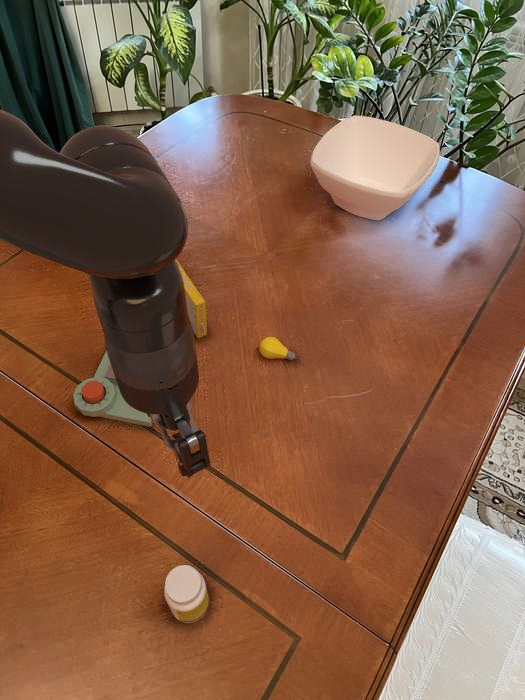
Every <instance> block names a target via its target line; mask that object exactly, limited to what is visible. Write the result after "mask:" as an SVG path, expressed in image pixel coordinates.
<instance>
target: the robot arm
mask: <svg viewBox="0 0 525 700" xmlns="http://www.w3.org/2000/svg"><path fill="white" fill-rule="evenodd" d="M188 234H189V223H188V216H187V213H186V210H185V207H184V205H183V202H182V200H181V199H180V197H179V195H178V194H177V192H176V191H175V188H174V187H173V185H172V184H171V182H170V180H169V179H168V177H167V176H166V175H165V173H164V171H163V170H162V168H161V166H160V165H159V163H158V161H157V160H156V158H155V157H154V155H153V153H152V151H150V149H149V148H148V147H147V146H146V145H145V144H144V142H142V141H141V140H140V139H139V138H137V136H135V135H134V134H132V133H130V132H129V131H126V130H124V129H121V128H119V127H116V126H112V125H94V126H90V127H86V128H84V129H82V130H80V131H77V133H75V134H74V135H73V136H71V137H70V138H69V139H68V140H67V142H65V144H64V145H63V146H62V148H61V149H60V152H58V151H56V150H54V148H51V147H50V146H48V145H47V144H46V143H44V142H43V141H42V140H41V139H40V137H38V136H37V134H36V133H35V132H34V131H33V130H32V129H31V128H30V127H29V125H27V123H25V122H24V121H23V120H22V119H20V118H19V117H17V116H16V115H14V114H12V113H10V112H8V111H5V110H3V109H2V108H1V109H0V241H2V242H4V243H7V244H9V245H11V246H13V247H15V248H17V249H20V250H22V251H25V252H27V253H30V254H32V255H36V256H39V257H41V258H44V259H46V260H49V261H51V262H54V263H56V264H59V265H62V266H64V267H67V268H70V269H73V270H75V271H78V272H81V273H83V274H87V275H88V276H87V277H88V279H89V283H90V288H91V292H92V293H91V294H92V297H93V303H94V306H95V311H96V312H97V316H98V319H99V322H100V326H101V328H102V331H103V337H104V338H103V339H104V347H105V349H106V350H107V354H108V357H109V360H110V363H111V366H112V369H113V372H114V375H115V378H116V381H117V384H118V387H119V390H120V393H121V395H122V397H123V399H124V400H125V401H126V403H127V404H128V405H130V406H131V407H132V408H134V409H136V410H138V411H140V412H143V413H147V415H148V417H151V420H152V421H153V423H154V425H155V426H156V427H157V429H158V431H159V435H160V437H161V438H162V441H163V444H164V445H165V446H166V447H167V448H168V449H170V450H172V452H173V454H174V456H175V461H176V463H177V467H178V471H179V473H180V475H181V477H184V478H185V477H187V478H191V477H194V475H196V474H197V473H199V472H200V471H203V470H204V469H207V468H210V467H211V460H210V454H209V448H208V443H207V442H208V441H207V438H206V437H207V435H206V433H205V432H204V431H203V430H202V429H201V428H200V429H199V428H198V426H197V424H196V420H195V419H194V416H193V414H192V404H191V402H190V401H191V399H192V398H193V396H194V395H195V393H196V391H197V389H198V386H199V382H200V374H199V367H198V358H197V349H196V343H195V334H194V332H193V328H192V325H191V322H190V319H189V316H188V309H187V302H186V294H185V288H184V282H183V279H182V275H181V273H180V270H179V267H178V265H177V263H176V261H175V260H177V259H178V258H179V256H180V255H181V253H182V252H183V250H184V248H185V246H186V243H187V241H188ZM106 350H105V351H106ZM167 430H169V431H174V432H176V431H178V432H176V433H174V434H172V435H169V433H168V431H167Z"/></svg>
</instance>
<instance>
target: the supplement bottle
mask: <svg viewBox="0 0 525 700" xmlns="http://www.w3.org/2000/svg"><path fill="white" fill-rule="evenodd" d="M164 582H165V583H164V587H163V590H164V591H163V594H164V599H165V602H166V603H167V606H168V608H169V610H170V611H171V614H172V615H173V616H174V618H175V619H176V620H178V621H179V622H182V623H184V624H191V623H192V624H193V623H195V622H198V621H200V620H201V619H202V618H203V617H204V616H205V614H206V613H207V612H208V609H209V605H210V596H209V592H208V587H207V583H206V580H205V579H204V577H203V575H202V573H200V572H199V571H198V570H197V569H196V568H195V567H193V566H192V565H189V564H181V565H177V566H175V567H174V568H172V569H171V570H170V571H169V572H168V574H167V576H166V578H165V581H164Z"/></svg>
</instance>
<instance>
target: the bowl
mask: <svg viewBox="0 0 525 700" xmlns="http://www.w3.org/2000/svg"><path fill="white" fill-rule="evenodd" d="M440 149H441V148H440V144H439V142H437V141H435V140H434V139H433V138H431V137H430V136H428V135H426V134H424V133H421V132H419V131H417V130H415V129H412V128H409V127H407V126H404V125H402V124H399V123H395V122H392V121H388V120H384V119H380V118H377V117H376V118H375V117H372V116H365V115H356V114H355V115H352V116H350V117H349V116H348V117H346V118H345V119H343V120H341V121H340V122H338V123H337V124H335V125H333V127H332V128H330V129H329V130H328V131H327V132H326V133H325V134H324V135H323V136H322V137H321V139H320V140H319V141H318V143H316V145H315V147H314V149H312V152H311V155H310V161H309V166H310V167H311V169H312V172H313V173H314V176H315V177H316V180H317V181H318V183H319V185H320V187H321V188H322V189H323V190H325V192H326V193H329V195H330V197H331V199H332V201H333V203H334V204H335V205H336V206H338V207H339V208H341V209H342V210H344V211H346V212H348V213H349V214H353V215H355V216H357V217H360V218H364V219H369V220H373V221H382V220H384V219H385V218H386V217H387V216H390V214H391V213H392V212H394V211H397V210H398V209H400V208H401V207H403V206H404V205H405V204H406V203H407V202H408V201H409V200H410V199H411V198H412V197H413V196H414V195H415V194H416V193H417V192H418V191H419V190H420V188H422V186H424V184H425V183H426V182H427V181H428V180H429V179H430V178H431V176H432V175H433V173H434V171H435V169H436V167H437V166H438V163H439V160H440V155H441V154H440V153H441V151H440Z"/></svg>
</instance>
